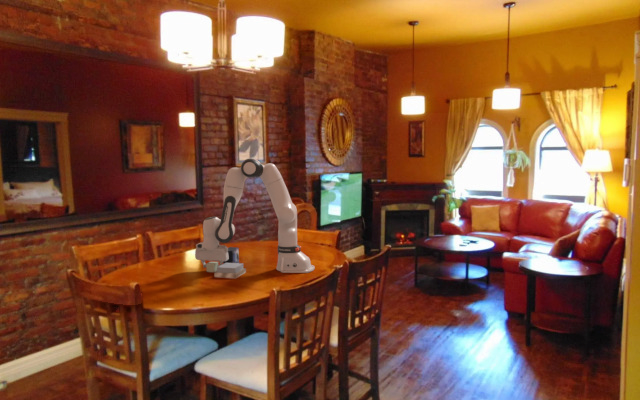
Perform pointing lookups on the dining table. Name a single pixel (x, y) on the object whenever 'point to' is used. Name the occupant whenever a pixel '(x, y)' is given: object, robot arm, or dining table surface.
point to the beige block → (212, 266)
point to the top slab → (230, 268)
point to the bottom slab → (230, 274)
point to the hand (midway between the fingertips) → (212, 267)
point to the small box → (233, 255)
